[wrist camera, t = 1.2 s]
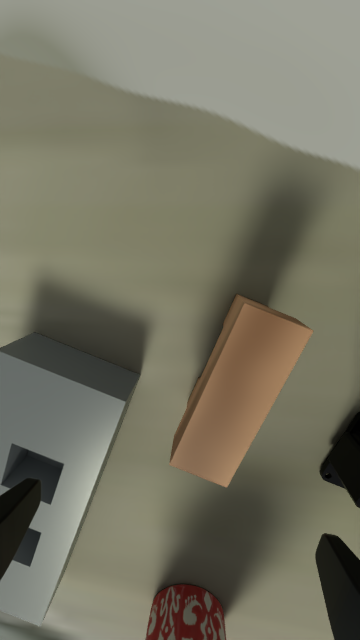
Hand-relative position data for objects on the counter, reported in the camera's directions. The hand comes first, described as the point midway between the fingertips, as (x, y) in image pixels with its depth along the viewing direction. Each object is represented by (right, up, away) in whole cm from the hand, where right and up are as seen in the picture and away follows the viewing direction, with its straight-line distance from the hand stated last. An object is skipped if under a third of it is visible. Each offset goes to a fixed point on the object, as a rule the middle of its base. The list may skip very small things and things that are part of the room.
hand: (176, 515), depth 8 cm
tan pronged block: (+4, +3, +12) cm, 13 cm away
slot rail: (-12, -7, +16) cm, 21 cm away
